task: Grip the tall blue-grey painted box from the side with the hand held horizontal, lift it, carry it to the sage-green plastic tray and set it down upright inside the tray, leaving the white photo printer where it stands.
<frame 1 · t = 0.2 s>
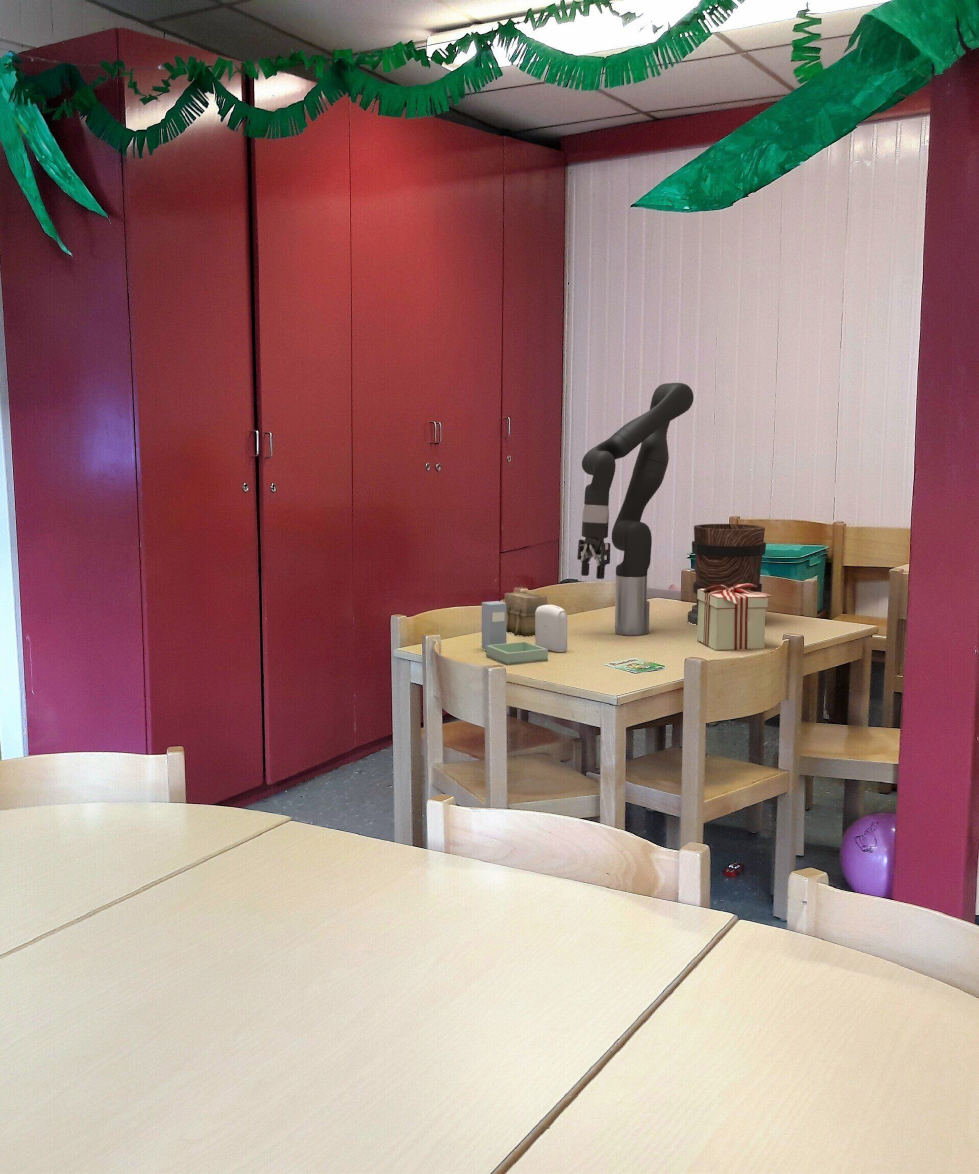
hand: (592, 577, 310), 18 cm above the table, tool pointing down, fingers open, 8 cm apart
wooden barrel: (730, 621, 339), on the table
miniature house: (532, 633, 322), on the table
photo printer: (551, 650, 296), on the table
tray: (516, 658, 284), on the table
gift box: (734, 646, 301), on the table
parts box: (494, 649, 296), on the table
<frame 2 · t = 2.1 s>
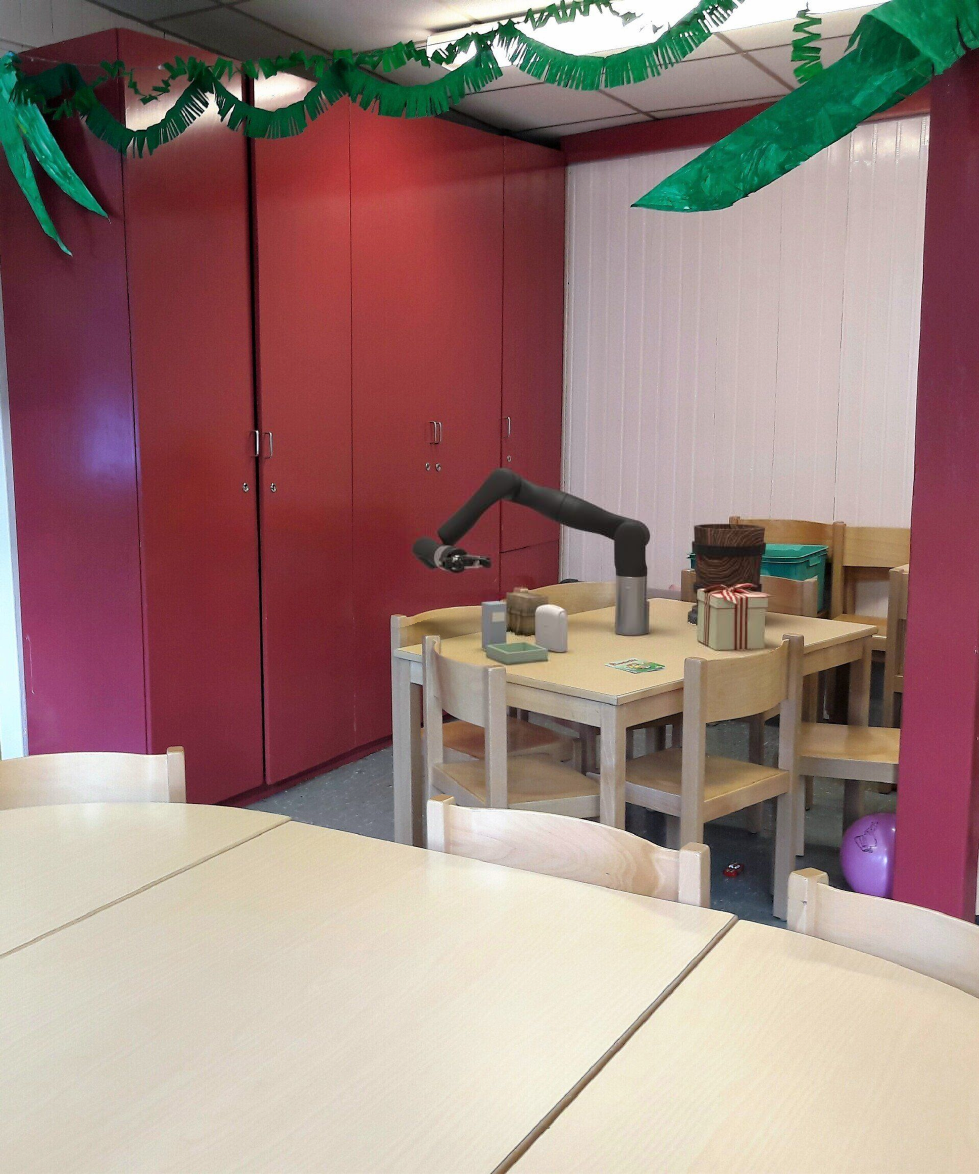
hand: (475, 565, 302), 22 cm above the table, tool horizontal, fingers open, 8 cm apart
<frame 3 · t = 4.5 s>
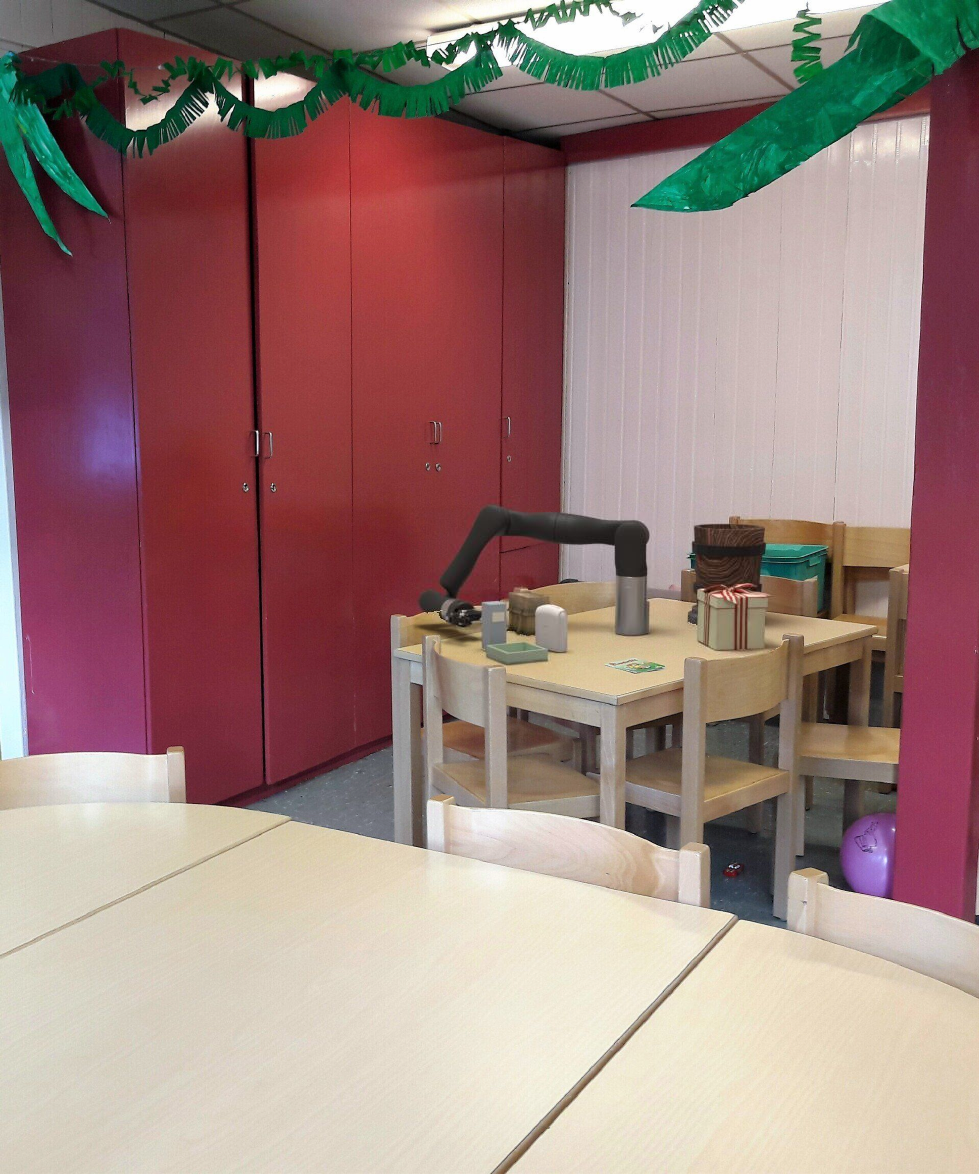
hand: (482, 620, 301), 7 cm above the table, tool horizontal, fingers open, 8 cm apart
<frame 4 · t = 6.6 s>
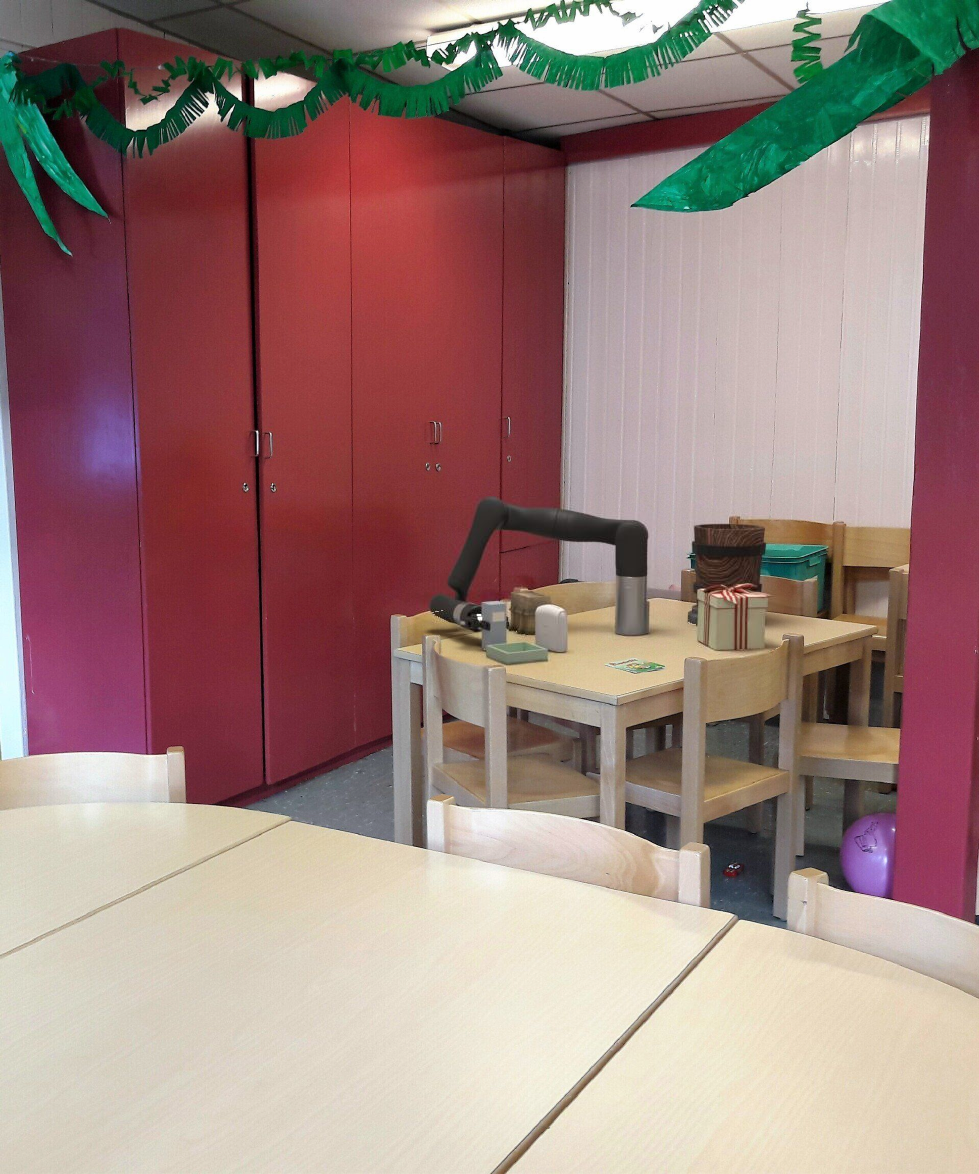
hand: (498, 625, 292), 7 cm above the table, tool horizontal, fingers closed on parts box, 5 cm apart
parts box: (494, 649, 296), on the table, touching gripper
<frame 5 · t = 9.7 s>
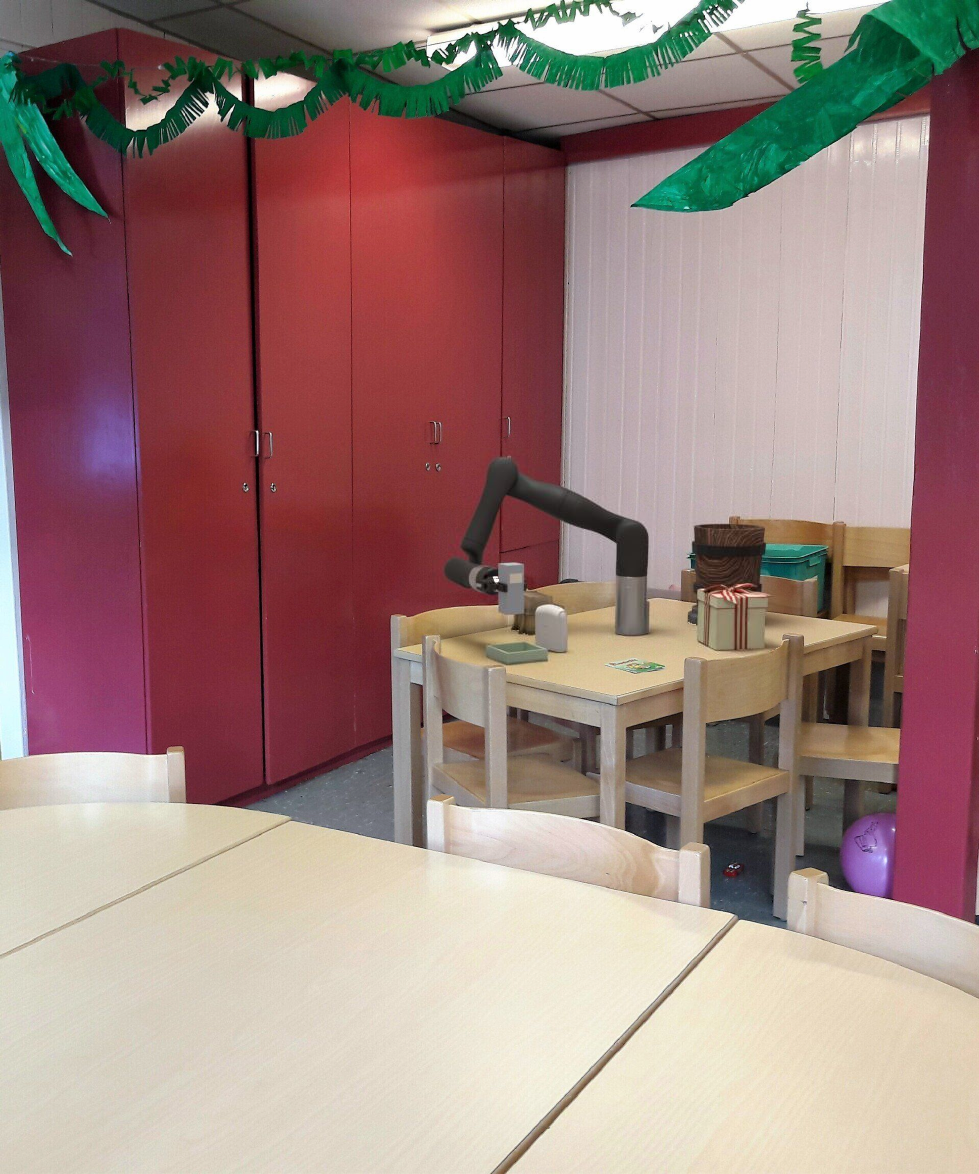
hand: (515, 587, 282), 19 cm above the table, tool horizontal, fingers closed on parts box, 5 cm apart
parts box: (511, 612, 285), point 12 cm above the table, touching gripper
when the fingers open (9 cm above the table, at t = 12.9 s): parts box stays where it is, resting on tray.
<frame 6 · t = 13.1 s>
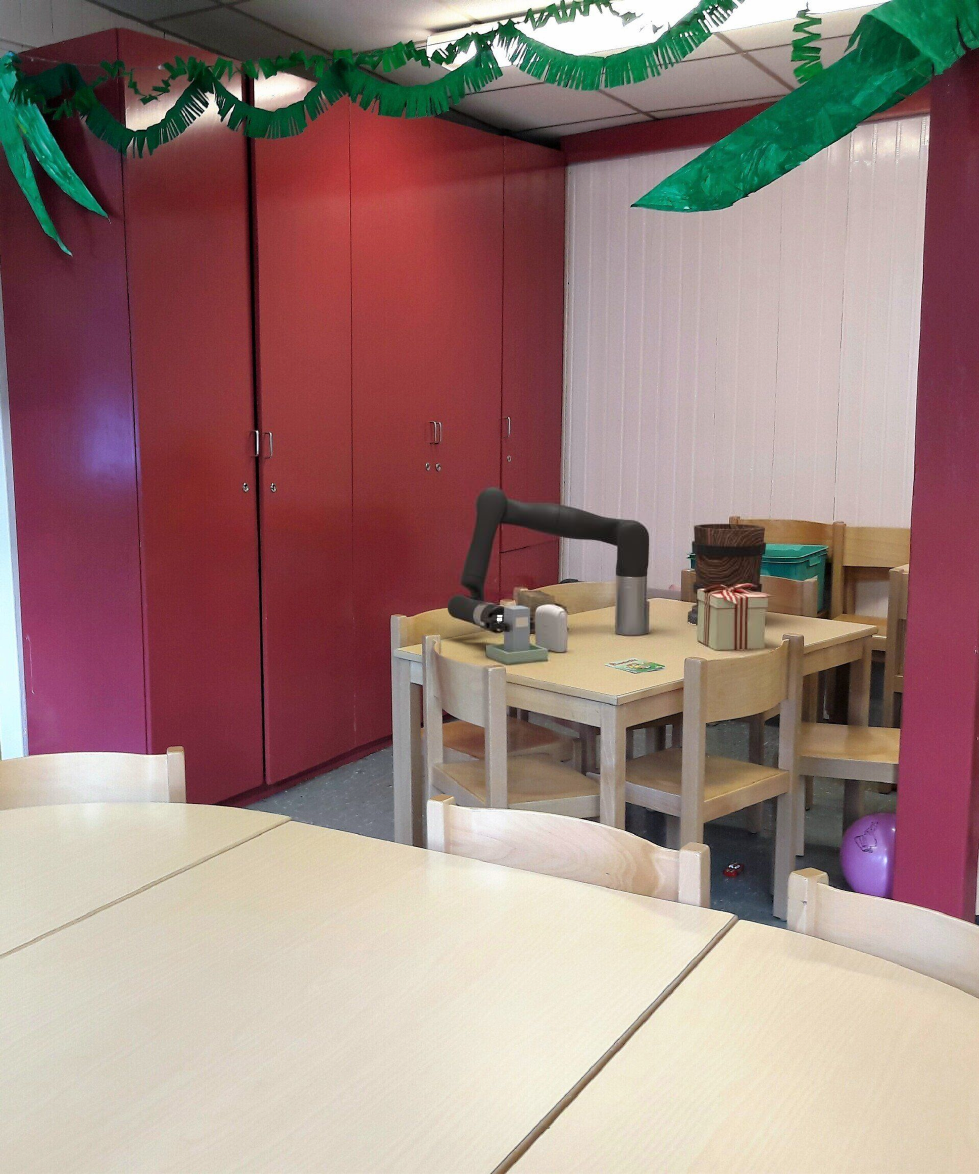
hand: (520, 627, 281), 9 cm above the table, tool horizontal, fingers open, 6 cm apart
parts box: (516, 656, 284), point 1 cm above the table, touching tray
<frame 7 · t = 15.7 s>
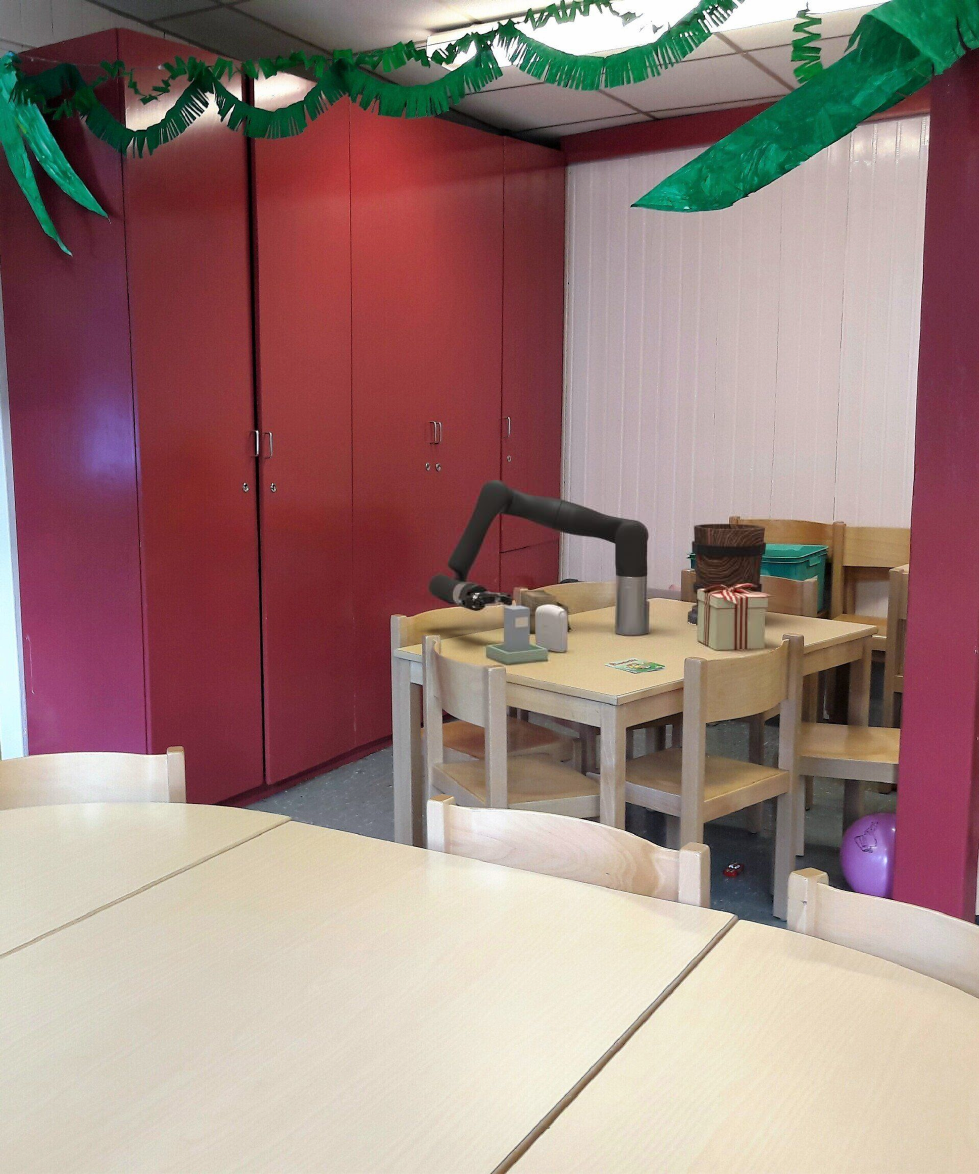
hand: (497, 603, 293), 13 cm above the table, tool horizontal, fingers open, 8 cm apart
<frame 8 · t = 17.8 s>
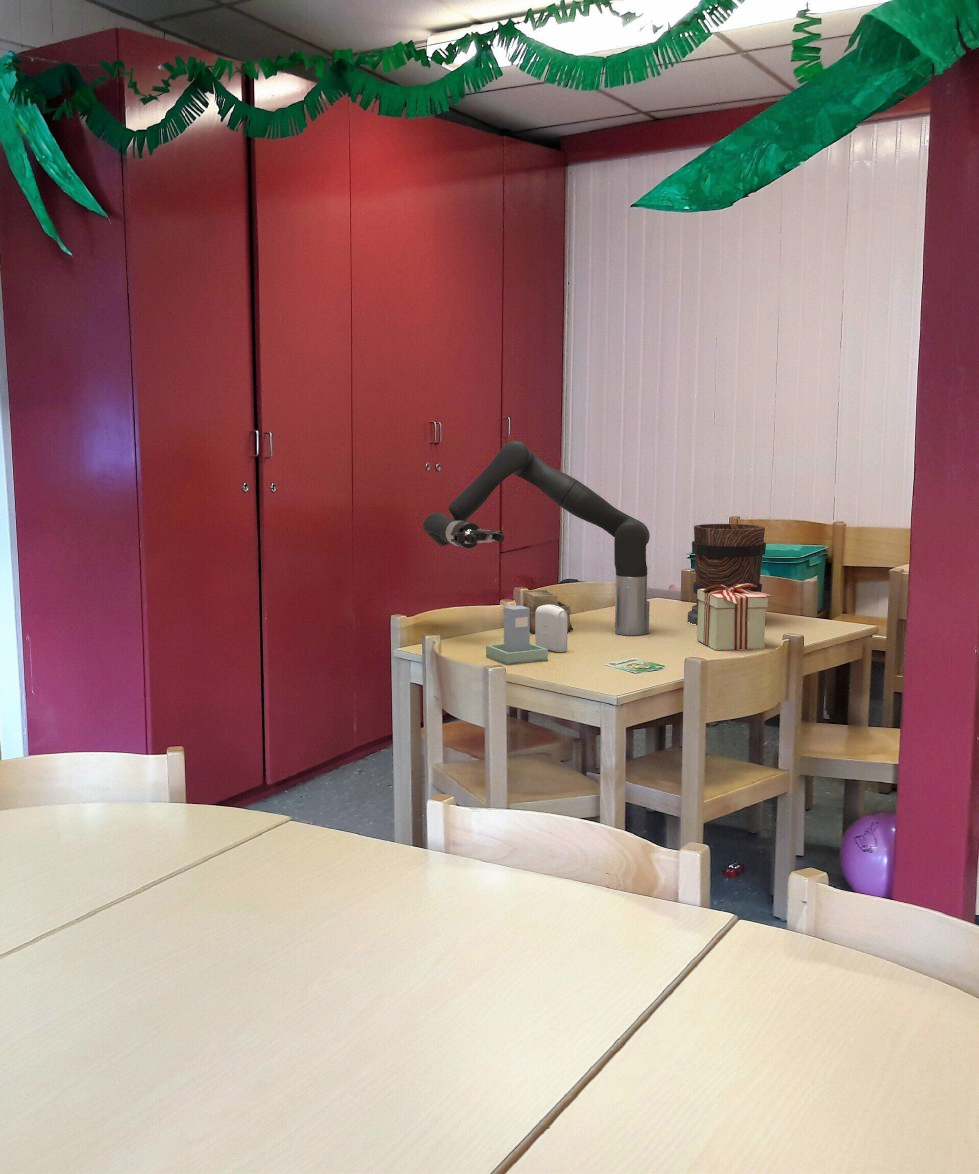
hand: (488, 538, 296), 30 cm above the table, tool horizontal, fingers open, 8 cm apart
at the end: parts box inside the target area on the tray (0.0 cm from its centre), point 0.6 cm above the tray's base; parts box tilted 0°; the gripper is holding nothing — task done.
